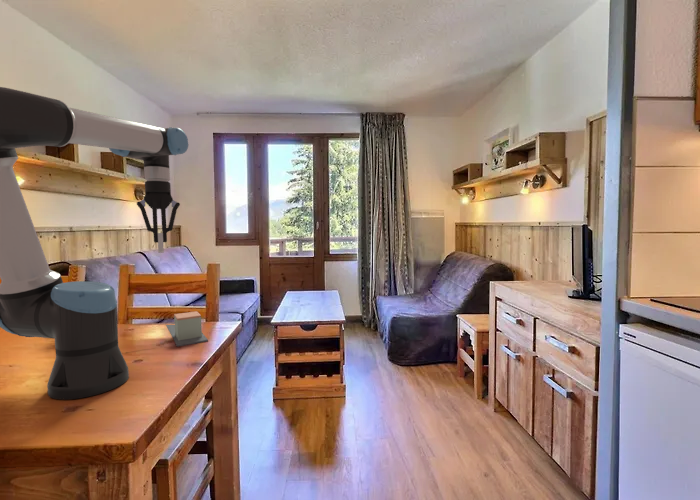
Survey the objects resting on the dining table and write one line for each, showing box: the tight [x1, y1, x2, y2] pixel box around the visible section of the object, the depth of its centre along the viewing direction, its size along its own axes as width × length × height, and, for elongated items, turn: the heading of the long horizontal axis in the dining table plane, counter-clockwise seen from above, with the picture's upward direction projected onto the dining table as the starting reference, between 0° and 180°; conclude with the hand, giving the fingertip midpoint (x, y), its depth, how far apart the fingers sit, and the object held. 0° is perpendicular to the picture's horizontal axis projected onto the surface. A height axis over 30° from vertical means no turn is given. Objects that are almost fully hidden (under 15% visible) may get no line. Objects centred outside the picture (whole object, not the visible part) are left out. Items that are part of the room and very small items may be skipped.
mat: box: [165, 322, 209, 348], centre depth 124 cm, size 28×9×1 cm, turn 33°
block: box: [173, 311, 203, 341], centre depth 119 cm, size 7×7×7 cm
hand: (160, 252), depth 122 cm, fingers closed
